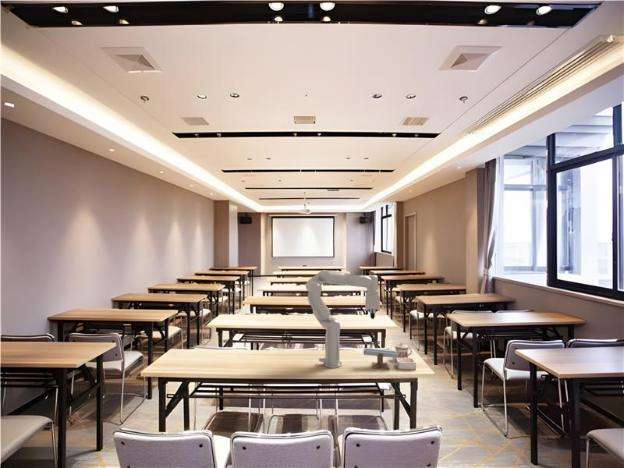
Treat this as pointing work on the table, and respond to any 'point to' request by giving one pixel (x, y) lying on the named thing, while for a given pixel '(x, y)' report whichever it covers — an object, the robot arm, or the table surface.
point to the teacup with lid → (402, 350)
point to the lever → (380, 352)
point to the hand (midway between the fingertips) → (372, 318)
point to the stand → (380, 363)
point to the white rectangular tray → (406, 363)
